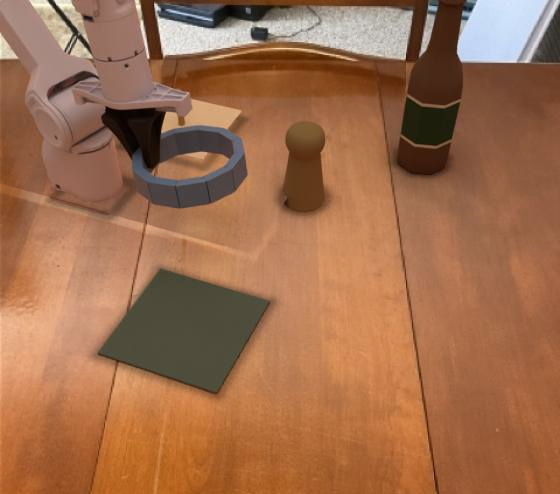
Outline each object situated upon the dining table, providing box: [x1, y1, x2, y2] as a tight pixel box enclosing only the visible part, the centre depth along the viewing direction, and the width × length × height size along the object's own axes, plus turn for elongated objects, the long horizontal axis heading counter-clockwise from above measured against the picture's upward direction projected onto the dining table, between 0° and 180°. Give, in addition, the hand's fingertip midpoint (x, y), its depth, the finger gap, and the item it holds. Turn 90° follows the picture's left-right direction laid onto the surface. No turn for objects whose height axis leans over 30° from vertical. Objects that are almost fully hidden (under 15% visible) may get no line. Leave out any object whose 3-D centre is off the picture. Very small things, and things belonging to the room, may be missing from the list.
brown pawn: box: [282, 120, 326, 213], centre depth 91 cm, size 6×6×11 cm
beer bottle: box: [396, 0, 468, 175], centre depth 91 cm, size 8×8×24 cm
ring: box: [131, 125, 249, 210], centre depth 81 cm, size 13×13×3 cm
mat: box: [97, 268, 271, 395], centre depth 80 cm, size 15×15×1 cm
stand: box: [161, 87, 243, 160], centre depth 102 cm, size 14×14×7 cm
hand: (147, 163), depth 83 cm, fingers closed on ring
